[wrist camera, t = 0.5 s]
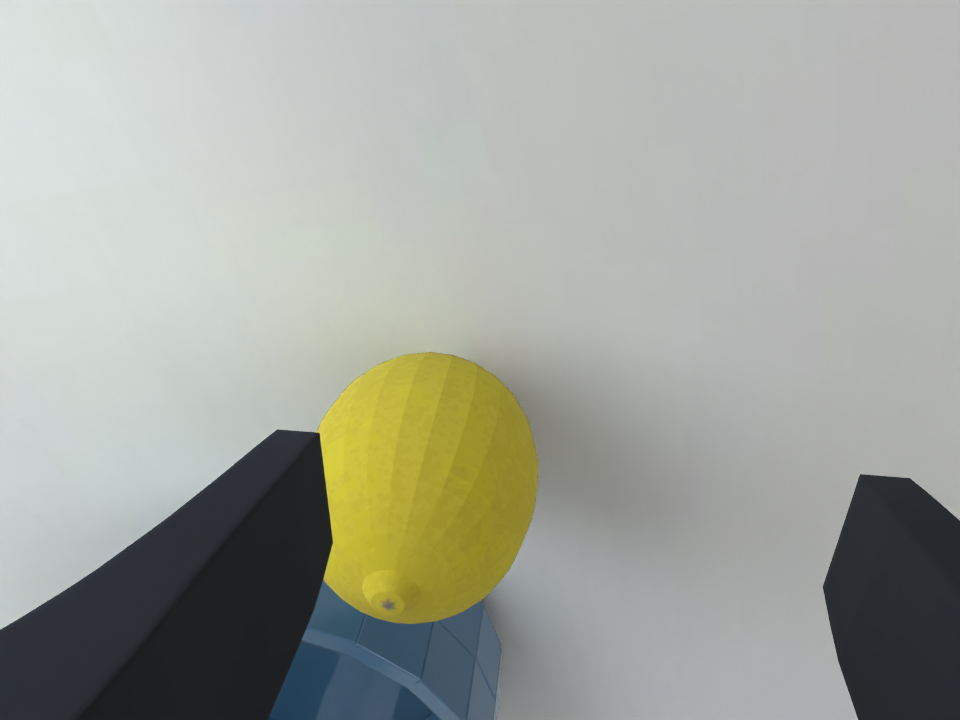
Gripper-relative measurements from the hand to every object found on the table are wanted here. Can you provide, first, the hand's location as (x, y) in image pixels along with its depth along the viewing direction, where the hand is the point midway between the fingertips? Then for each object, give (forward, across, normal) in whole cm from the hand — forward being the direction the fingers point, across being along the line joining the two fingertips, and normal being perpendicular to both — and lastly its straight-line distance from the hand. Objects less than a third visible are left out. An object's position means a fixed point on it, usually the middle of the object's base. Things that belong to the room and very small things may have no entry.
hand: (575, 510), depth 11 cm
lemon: (+10, +3, +5) cm, 12 cm away
